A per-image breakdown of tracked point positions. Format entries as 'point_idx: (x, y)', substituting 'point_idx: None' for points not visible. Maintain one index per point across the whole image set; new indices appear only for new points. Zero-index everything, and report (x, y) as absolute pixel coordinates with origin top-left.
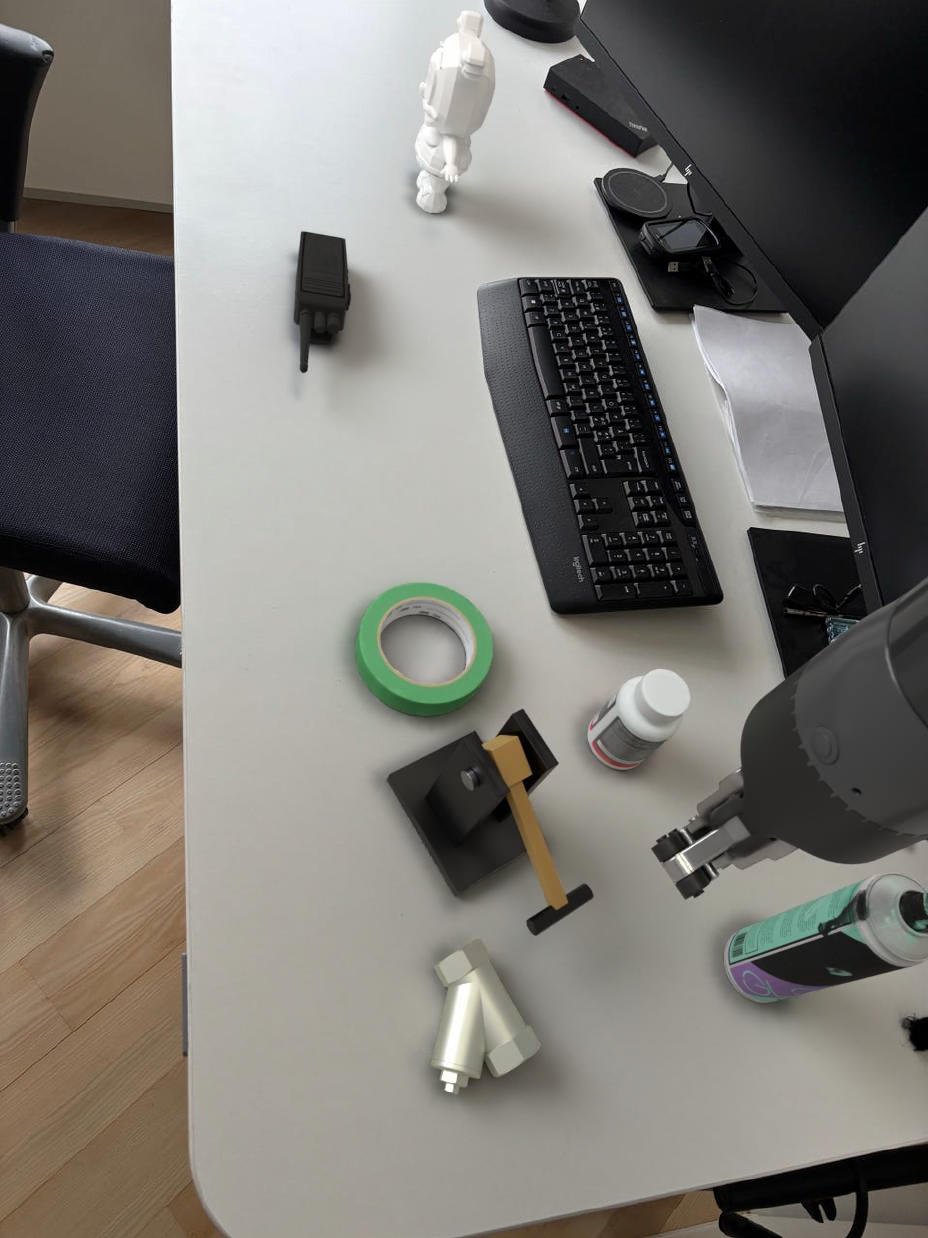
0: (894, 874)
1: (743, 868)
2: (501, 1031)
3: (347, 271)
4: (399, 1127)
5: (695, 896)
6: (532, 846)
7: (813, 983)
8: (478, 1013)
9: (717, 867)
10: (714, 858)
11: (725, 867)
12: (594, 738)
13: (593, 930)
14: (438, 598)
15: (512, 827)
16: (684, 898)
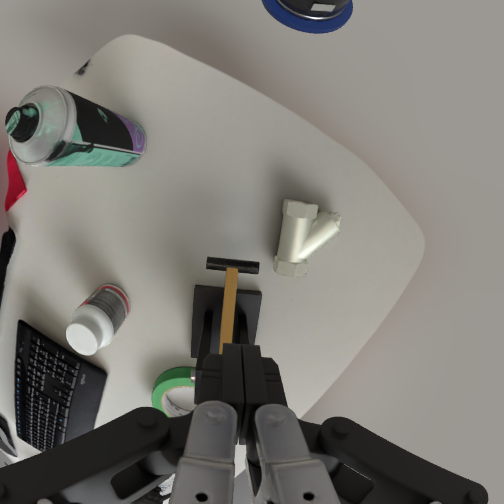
0: (18, 157)
1: (324, 468)
2: (304, 225)
3: (135, 502)
4: (360, 217)
5: (482, 494)
6: (233, 318)
7: (117, 118)
8: (308, 241)
9: (297, 425)
10: (309, 451)
11: (284, 418)
12: (126, 316)
13: (200, 224)
14: (170, 416)
15: (207, 305)
16: (480, 486)
